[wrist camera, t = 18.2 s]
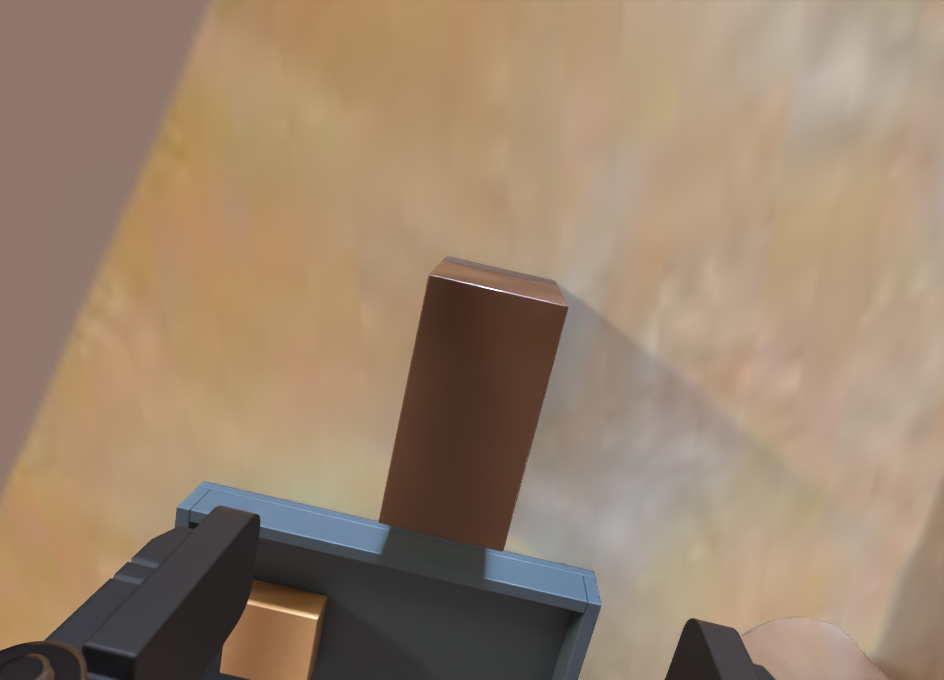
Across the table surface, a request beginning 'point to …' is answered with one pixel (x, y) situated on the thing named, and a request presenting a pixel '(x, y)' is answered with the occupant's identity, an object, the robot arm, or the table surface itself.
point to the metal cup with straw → (809, 651)
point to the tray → (414, 596)
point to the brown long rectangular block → (472, 401)
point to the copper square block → (276, 634)
